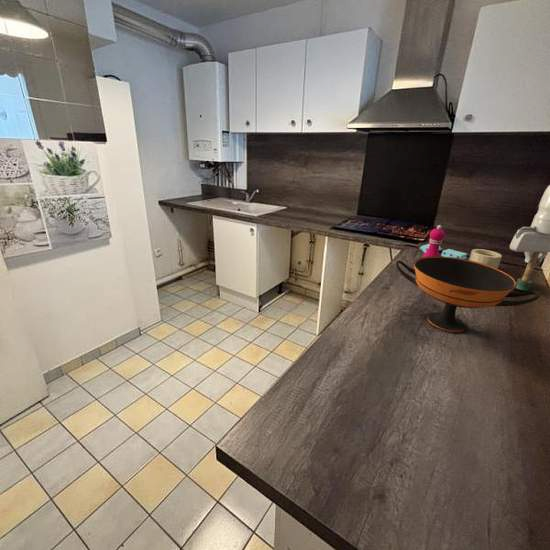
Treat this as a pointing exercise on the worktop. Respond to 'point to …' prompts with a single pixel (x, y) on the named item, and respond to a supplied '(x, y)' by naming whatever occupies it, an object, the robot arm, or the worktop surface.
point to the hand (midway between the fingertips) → (532, 262)
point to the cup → (462, 287)
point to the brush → (527, 274)
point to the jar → (486, 257)
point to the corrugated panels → (447, 252)
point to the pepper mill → (435, 242)
